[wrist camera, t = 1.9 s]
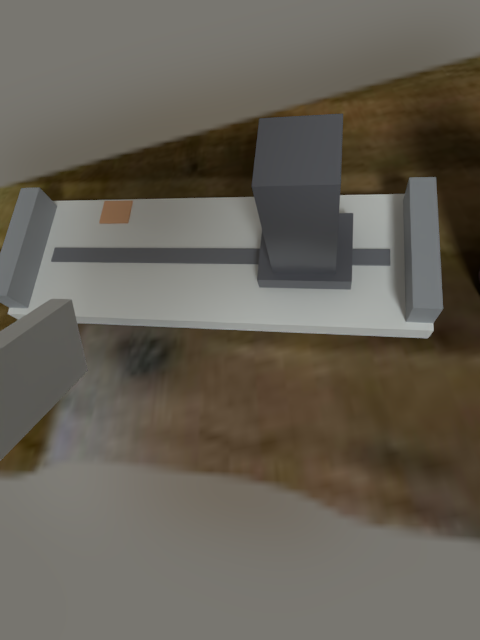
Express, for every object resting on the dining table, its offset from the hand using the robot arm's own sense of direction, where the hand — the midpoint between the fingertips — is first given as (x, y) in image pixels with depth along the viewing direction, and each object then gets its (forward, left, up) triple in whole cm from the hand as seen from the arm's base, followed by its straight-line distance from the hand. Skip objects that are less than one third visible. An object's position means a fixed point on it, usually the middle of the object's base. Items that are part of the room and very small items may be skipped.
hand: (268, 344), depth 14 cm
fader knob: (0, -11, -14) cm, 17 cm away
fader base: (+7, -11, -16) cm, 20 cm away
